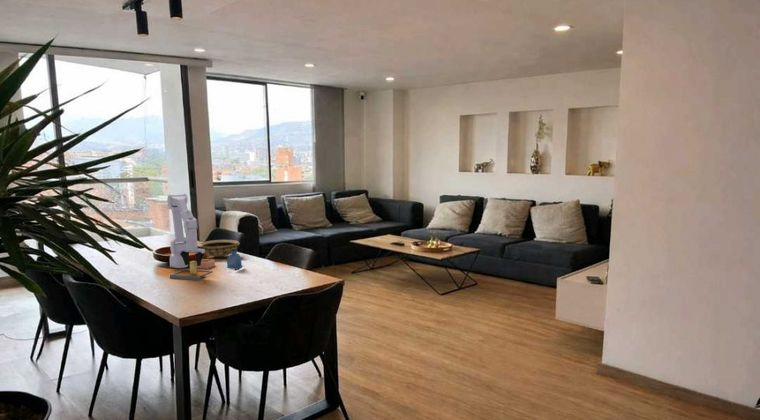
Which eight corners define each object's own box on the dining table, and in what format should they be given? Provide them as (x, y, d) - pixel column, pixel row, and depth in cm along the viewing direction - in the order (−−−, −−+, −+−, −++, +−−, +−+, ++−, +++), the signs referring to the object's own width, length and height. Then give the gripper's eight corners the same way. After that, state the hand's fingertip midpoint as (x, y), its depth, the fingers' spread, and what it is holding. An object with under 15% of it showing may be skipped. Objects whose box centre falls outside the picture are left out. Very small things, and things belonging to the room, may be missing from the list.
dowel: (189, 275, 273) (188, 262, 272) (192, 273, 276) (191, 260, 275) (194, 275, 272) (193, 262, 271) (197, 274, 275) (196, 261, 274)
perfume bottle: (241, 267, 294) (240, 247, 292) (237, 270, 288) (236, 250, 286) (231, 267, 294) (230, 247, 293) (227, 270, 288) (226, 249, 287)
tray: (170, 278, 270) (169, 274, 270) (184, 272, 283) (184, 268, 282) (199, 280, 266) (198, 276, 265) (212, 274, 278) (212, 270, 278)
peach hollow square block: (195, 270, 287) (195, 261, 287) (203, 267, 295) (203, 259, 294) (207, 271, 285) (207, 262, 285) (215, 268, 293) (214, 259, 292)
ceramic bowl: (230, 251, 339) (229, 237, 338) (250, 256, 323) (249, 241, 322) (188, 258, 317) (187, 243, 316) (207, 264, 301) (206, 248, 300)
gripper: (175, 241, 269) (176, 266, 271) (198, 242, 266) (200, 267, 268) (183, 239, 276) (184, 263, 278) (206, 240, 273) (207, 264, 274)
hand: (192, 265), depth 273 cm, fingers open, 7 cm apart
